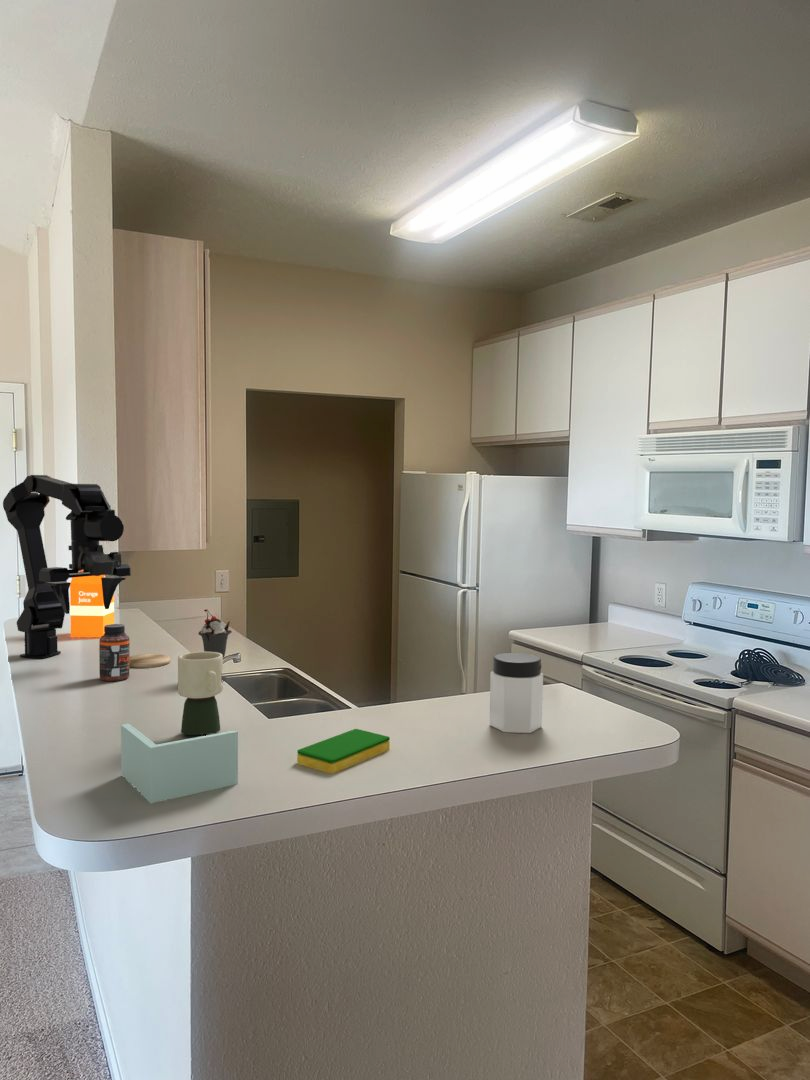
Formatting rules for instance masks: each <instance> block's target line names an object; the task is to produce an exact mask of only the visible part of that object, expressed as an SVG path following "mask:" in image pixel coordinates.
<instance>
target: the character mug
mask: <svg viewBox="0 0 810 1080" xmlns="http://www.w3.org/2000/svg"><path fill="white" fill-rule="evenodd" d="M223 661H224V658H223V655H222V654H221V653H217V652H204V651H191V652H187V653H186V652H185V653H182V654H179V655H178V657H177V692H178V695H179V696H180V697H184V698H186V699H185V701H184V704H183V712H182V718H181V729H180V732H181V734H182V735H186V736H187V735H188V736H198V735H202V736H203V735H210V734H217V733H220V731H221V720H220V714H219V707H218V701H217V698H216V696H217V695H219V694H221V693H222V692H223V690H224V684H223V682H224V681H222V676H223V670H224V662H223Z"/></svg>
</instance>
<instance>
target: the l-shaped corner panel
mask: <svg viewBox="0 0 810 1080" xmlns="http://www.w3.org/2000/svg"><path fill="white" fill-rule="evenodd" d="M120 739H121V740H120V747H121V749H120V750H121V751H120V753H121V754H120V755H121V757H120V758H121V759H120V760H121V763H120V764H121V767H120V768H121V773H120V774H122V775H123V776H124V777H125V778H126V779H127V780H128V781H129V782H130V783H131V784H133V786H135V788H137V789H138V790H139V791H140V792H141V793H142V795H144V797H145V798H146V799H147V802H148V803H150V804H155V802H156V803H159V801H160V802H164V801H167V799H169V800H173V799H177V797H178V798H181V797H186V796H190V795H194V794H200V793H204V792H207V791H212V790H216V789H221V788H225V787H230V786H233V785H238V784H239V732H238V731H237V730H236V729H235V730H230V731H224V732H217V733H211V734H206V736H203V735H201V736H196V737H190V738H185V739H181V740H180V739H179V740H175V741H168V742H163V743H158V744H156V743H155V742H153V741H152V740H151V739H149V738H148V737H147V736H146V735H144V734H143V733H142V732H141V731H139V730H138V729H136V728H135V727H134V726H133V725H131V724H130V723H124V724H121V725H120ZM127 780H126V781H127ZM128 781H127V782H128ZM129 782H128V783H129ZM130 783H129V784H130ZM131 784H130V785H131ZM133 786H132V787H133ZM135 788H134V789H135ZM142 795H141V796H142ZM144 797H143V798H144ZM145 798H144V799H145ZM146 799H145V800H146ZM163 800H164V801H163Z"/></svg>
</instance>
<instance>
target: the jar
mask: <svg viewBox="0 0 810 1080" xmlns="http://www.w3.org/2000/svg"><path fill="white" fill-rule="evenodd" d="M492 664H493V666H492V671H490V679H489V680H490V683H489V686H490V687H489V726H491V727H493V728H495V729H496V730H498V731H501V732H503V733H511V734H512V733H514V734H531V733H533V732H535V731H537V730H538V729H540V728H542V727H543V700H544V698H543V696H544V695H543V693H544V673H543V672H542V671H541V670H542V658H541V657H539V656H537V655H535V654H529V653H523V652H522V653H521V652H506V653H505V652H504V653H498V654H495V655H494V656H493V661H492Z"/></svg>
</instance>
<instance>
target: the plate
mask: <svg viewBox="0 0 810 1080" xmlns="http://www.w3.org/2000/svg"><path fill="white" fill-rule="evenodd" d="M170 663H171V657H170V656H169V655H167V654H160V653H159V654H158V653H157V654H156V653H155V654H154V653H148V654H147V653H145V654H137V655H131V656H129V668H135V669H149V668H158V667H164V666H167V665H169V664H170Z"/></svg>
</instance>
